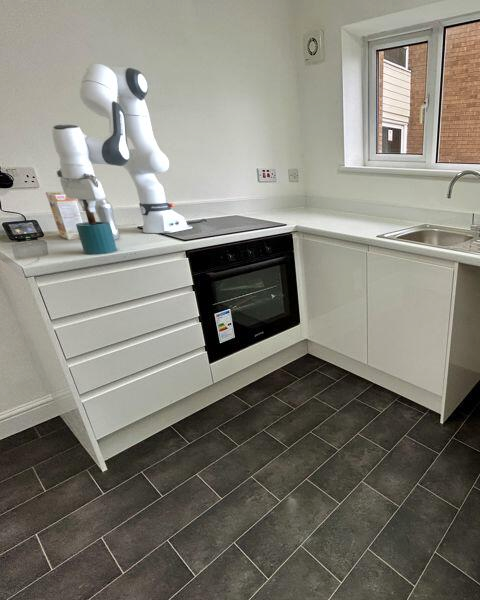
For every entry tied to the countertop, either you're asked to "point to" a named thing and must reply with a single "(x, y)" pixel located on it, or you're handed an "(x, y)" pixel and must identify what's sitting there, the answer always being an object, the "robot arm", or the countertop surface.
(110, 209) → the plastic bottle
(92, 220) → the brush
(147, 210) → the robot arm
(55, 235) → the countertop surface
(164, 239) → the countertop surface
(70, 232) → the coffeecake box
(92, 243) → the teal pot
